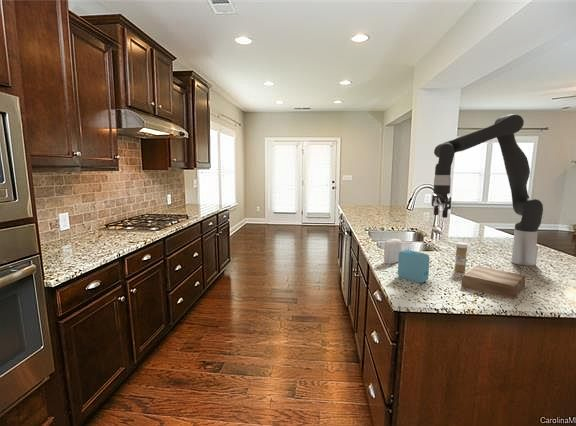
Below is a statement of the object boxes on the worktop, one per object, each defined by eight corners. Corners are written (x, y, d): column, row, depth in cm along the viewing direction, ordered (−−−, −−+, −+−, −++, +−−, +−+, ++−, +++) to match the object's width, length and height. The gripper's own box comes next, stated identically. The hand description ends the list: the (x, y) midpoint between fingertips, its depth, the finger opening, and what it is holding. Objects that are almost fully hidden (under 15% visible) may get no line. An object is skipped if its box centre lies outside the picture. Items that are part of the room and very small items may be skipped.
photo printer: (395, 259, 165) (396, 236, 163) (402, 261, 161) (403, 238, 160) (382, 262, 159) (383, 239, 157) (389, 264, 156) (390, 241, 154)
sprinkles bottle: (453, 271, 146) (455, 243, 144) (455, 268, 149) (457, 241, 147) (464, 273, 143) (466, 244, 141) (466, 270, 146) (468, 242, 144)
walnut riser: (475, 275, 139) (476, 265, 138) (524, 286, 126) (525, 275, 125) (461, 286, 127) (462, 274, 126) (514, 299, 114) (515, 286, 113)
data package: (428, 281, 132) (429, 254, 131) (423, 284, 130) (424, 256, 128) (402, 274, 142) (403, 249, 140) (397, 276, 139) (398, 250, 137)
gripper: (457, 184, 147) (455, 218, 149) (442, 183, 161) (440, 214, 163) (442, 185, 146) (440, 218, 149) (427, 183, 160) (426, 214, 163)
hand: (440, 216), depth 156 cm, fingers open, 8 cm apart
